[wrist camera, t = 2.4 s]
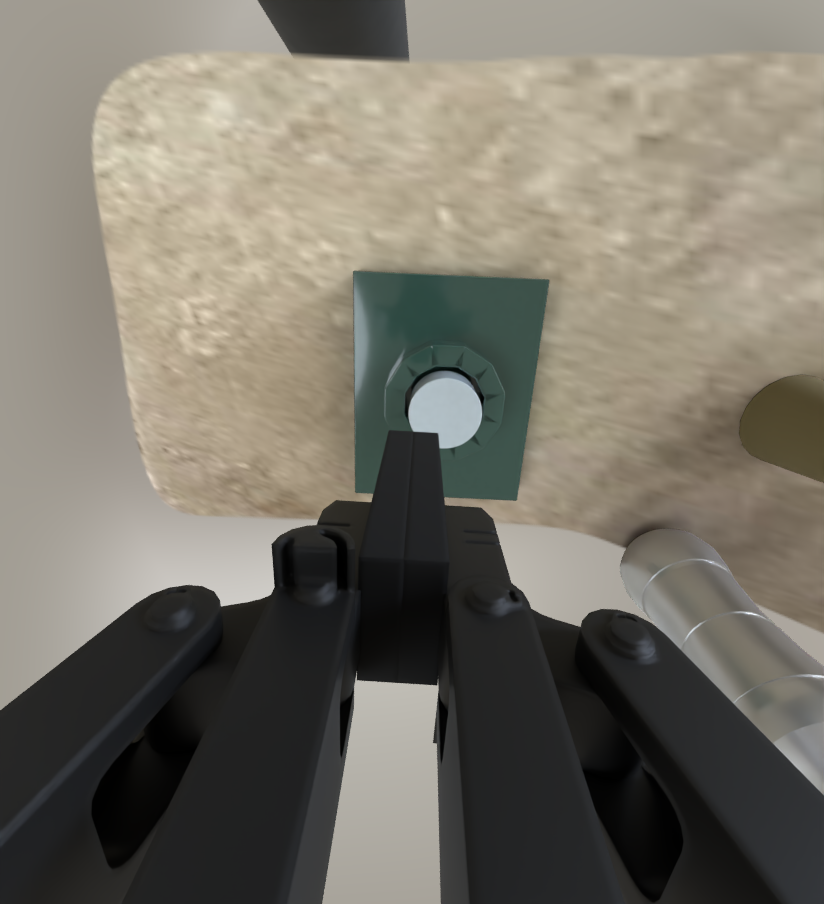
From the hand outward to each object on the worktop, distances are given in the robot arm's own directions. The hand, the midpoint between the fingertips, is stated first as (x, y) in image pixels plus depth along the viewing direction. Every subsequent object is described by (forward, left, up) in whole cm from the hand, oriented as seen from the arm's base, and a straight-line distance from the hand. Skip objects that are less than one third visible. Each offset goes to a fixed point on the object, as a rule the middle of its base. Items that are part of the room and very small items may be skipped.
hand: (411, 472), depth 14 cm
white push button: (+1, +2, -13) cm, 13 cm away
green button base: (+1, +2, -16) cm, 16 cm away
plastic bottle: (+13, +19, -16) cm, 28 cm away
